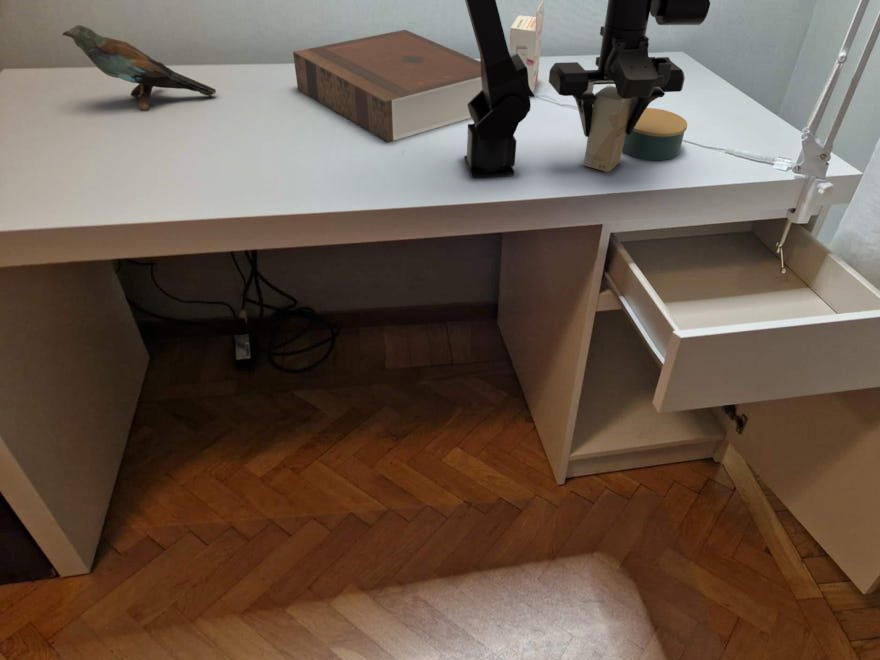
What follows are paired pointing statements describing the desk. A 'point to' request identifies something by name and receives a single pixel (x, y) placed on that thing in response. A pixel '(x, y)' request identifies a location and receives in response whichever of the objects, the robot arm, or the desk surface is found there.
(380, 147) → the desk surface
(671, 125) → the tin
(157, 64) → the bird figurine
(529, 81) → the ink cartridge box
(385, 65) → the book
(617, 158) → the box
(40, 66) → the desk surface
